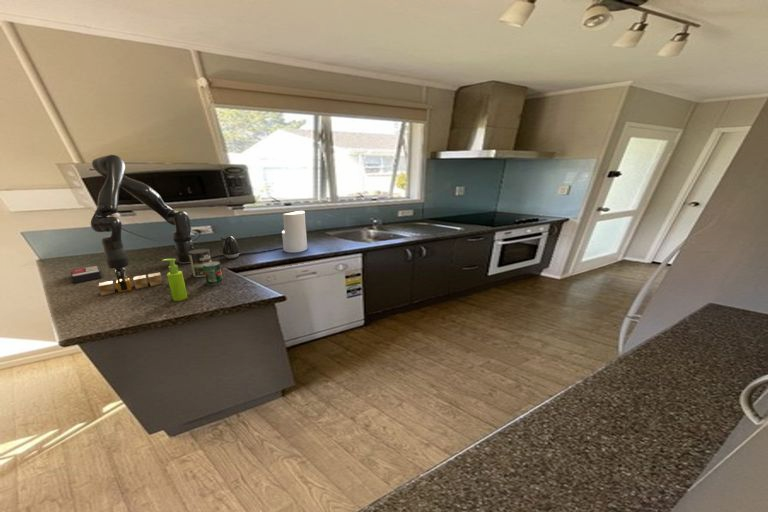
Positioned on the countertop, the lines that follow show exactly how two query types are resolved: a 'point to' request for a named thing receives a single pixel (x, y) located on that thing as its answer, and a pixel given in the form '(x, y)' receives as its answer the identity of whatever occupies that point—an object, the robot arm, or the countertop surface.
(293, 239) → the cylinder
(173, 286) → the soap dispenser
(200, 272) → the coffee can
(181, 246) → the robot arm
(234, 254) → the dark ribbed dome
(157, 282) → the maple block
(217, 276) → the canned tomato
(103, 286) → the maple block
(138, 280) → the maple block middle
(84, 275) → the red and grey box
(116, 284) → the mustard block
